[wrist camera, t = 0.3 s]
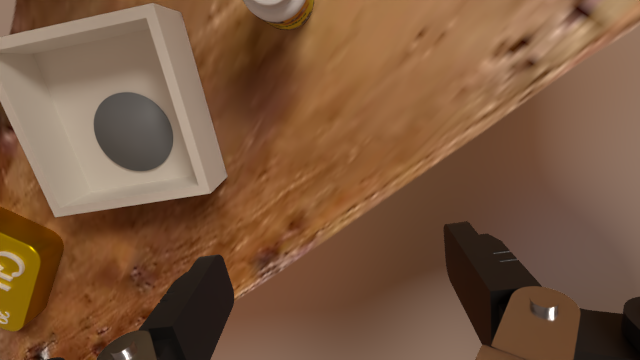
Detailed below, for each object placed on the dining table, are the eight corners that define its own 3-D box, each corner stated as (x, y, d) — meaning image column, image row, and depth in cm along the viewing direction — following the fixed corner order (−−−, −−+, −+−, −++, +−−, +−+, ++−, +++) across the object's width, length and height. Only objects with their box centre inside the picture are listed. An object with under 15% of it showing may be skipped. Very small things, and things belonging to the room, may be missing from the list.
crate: (25, 46, 36) (-28, 43, 31) (181, 12, 34) (152, 2, 29) (90, 198, 42) (55, 217, 37) (227, 176, 40) (210, 193, 35)
